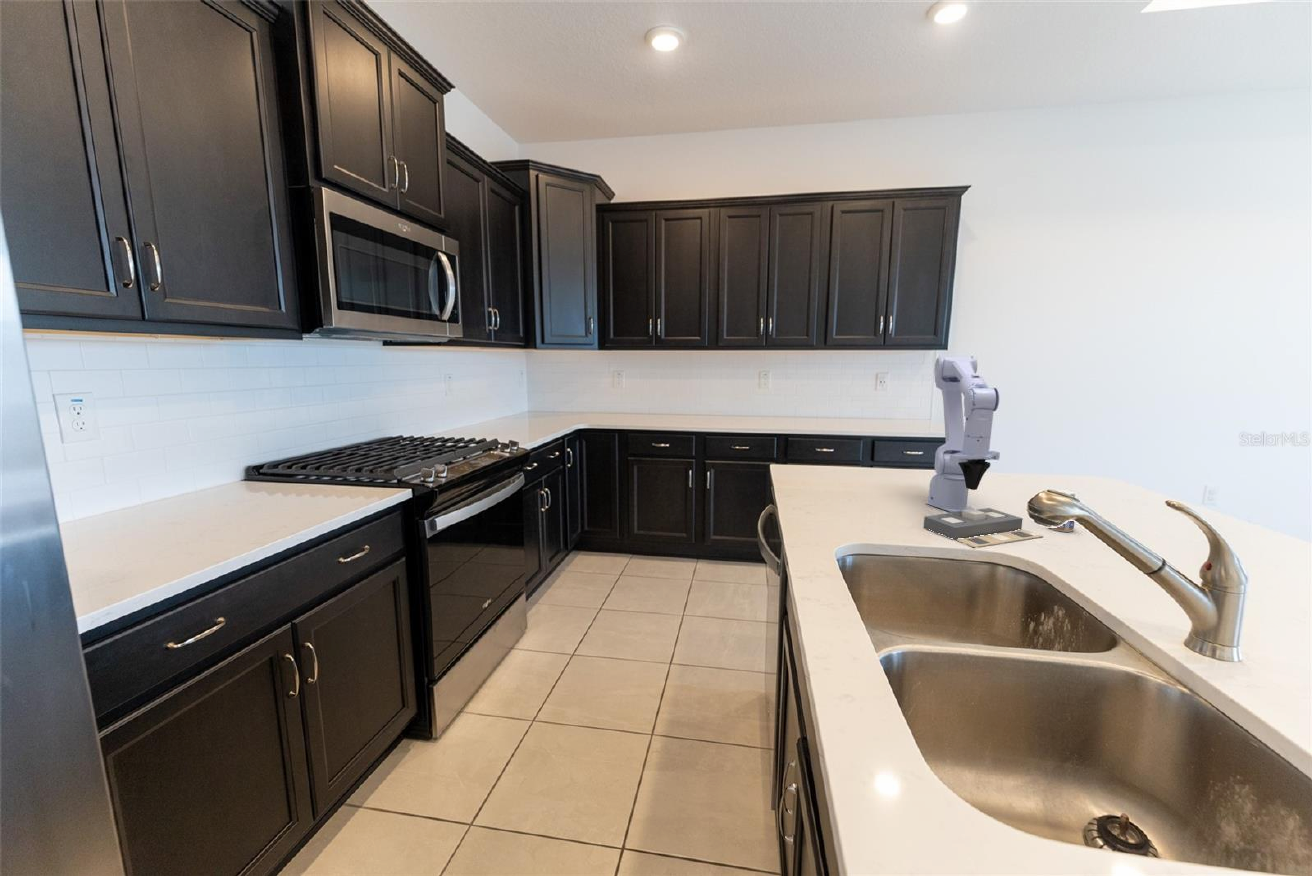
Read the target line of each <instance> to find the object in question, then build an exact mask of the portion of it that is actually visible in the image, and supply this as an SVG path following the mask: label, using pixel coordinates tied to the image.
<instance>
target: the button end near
mask: <svg viewBox="0 0 1312 876" xmlns="http://www.w3.org/2000/svg"><path fill="white" fill-rule="evenodd" d="M941 520H943V521H946V522H949V523H951V524H957V523H964V521H961V520H958V519H955V518H952V517H949V518H941Z"/></svg>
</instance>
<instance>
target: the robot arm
mask: <svg viewBox="0 0 1312 876" xmlns="http://www.w3.org/2000/svg"><path fill="white" fill-rule="evenodd" d="M977 371H978V360H977V357H975V356H974V355H972V356H944V355H939V356H938V357H937V358H936V360H935V363H934V383H935V387H936V388H937V389H939V390H941V394H942V404H943V416H944V418H943V419H944V422H943V423H944V435H945V436H944V438H945V443H944V444H942V445H941V446H939V447H938V448H936V451H935V454H934V455H935V458H934V472H935V473H936V474H934V475H933V476H932V477H931V479H930V482H929V490H928V497H927V499H928V500H927V501H926V502H925V504H927V505H929V506H932V507H935V508H938V509H941V510H943V511H947V512H948V513H955V512H962V510H968V509H975V508H974V507H971V506H969V505H968V499H969V498H968V496H969V490H972V491H977V489H978V487H979V485H980V484H981V481H982V478H983V477H984V475H985V473H986V472H987V470H988V469H990V467H991V462H989V461H990V460H991V461H993V460H994V461H995V460H996V461H999V460H1000V457H1001V456H1000V455H1001V452H999V451H995V450H990V448H991V447H990V445H991V439H992V427H993V422H994V421H993V420H994V412H996V411H997V410H998V408H999V403H1000V393H999V389H998V388H997V387H989V385H988V384H987V382H986V381H985V379H984V378H983V376H981V375H980V374H979V373H977ZM962 395H963V396H962ZM962 399H963V400H962ZM963 407H964V410H963ZM963 411H964V412H963ZM964 418H965V423H964Z"/></svg>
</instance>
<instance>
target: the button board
mask: <svg viewBox="0 0 1312 876" xmlns="http://www.w3.org/2000/svg"><path fill="white" fill-rule="evenodd" d="M977 510H978V511H981V512H984V513H987V512H995V513H998V514H1002V515H1005V516H1006V517H1000V518H994V517H991V516H988V515H986V517H985V520H978V521H973V520H970V519H967V518H965V517H962V512H955V513H953V512H948V513H942V514H941V513H940V514H933V515H924V520H923V528H924V529H925V528H926V529H925V530H928V529H930V530H932V531H931V532H933V531H934V532H933V533H935V532H936V533H935V534H938V533H940V534H943V535H945V536H947V537H946V538H948V537H949V538H948V539H950V538H953V539H958V538H969V537H974V536H980V535H988V534H994V533H1004V532H1009V531H1015V530H1018V529H1021V530H1022V529H1023V528H1022V527H1023V520H1024V518H1022V517H1019V516H1016V515H1014V514H1010V513H1006V512H1005V511H1000V510H998V509H993V508H991V507H987V508H978V509H977ZM949 517H952V518H955V519H958V520H961V521H964V523H957V524H951V523H949V522H946V521H943V520H941V518H949ZM930 530H929V531H930ZM940 534H939V535H940ZM943 535H942V536H943ZM945 536H944V537H945ZM953 539H952V540H953Z"/></svg>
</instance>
